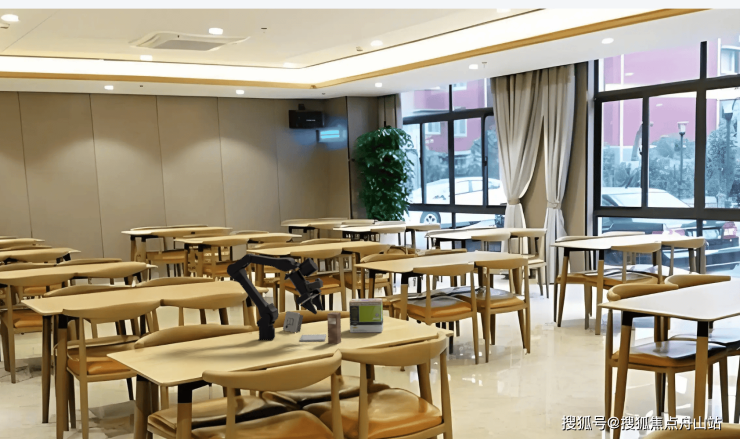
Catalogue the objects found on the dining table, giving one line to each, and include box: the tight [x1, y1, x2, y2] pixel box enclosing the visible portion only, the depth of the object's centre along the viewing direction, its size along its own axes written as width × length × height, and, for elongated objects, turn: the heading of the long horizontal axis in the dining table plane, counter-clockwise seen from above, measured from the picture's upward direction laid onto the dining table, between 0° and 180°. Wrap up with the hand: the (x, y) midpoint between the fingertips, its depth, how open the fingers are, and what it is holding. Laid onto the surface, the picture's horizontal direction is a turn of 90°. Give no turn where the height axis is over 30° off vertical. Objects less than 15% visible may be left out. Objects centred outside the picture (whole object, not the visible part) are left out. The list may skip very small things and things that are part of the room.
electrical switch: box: [282, 310, 304, 333], centre depth 340 cm, size 9×5×9 cm, turn 46°
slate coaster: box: [299, 333, 327, 343], centre depth 321 cm, size 11×11×1 cm
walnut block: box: [326, 311, 342, 345], centre depth 312 cm, size 4×5×13 cm
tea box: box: [348, 297, 384, 333], centre depth 337 cm, size 15×10×15 cm
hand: (319, 312), depth 315 cm, fingers open, 9 cm apart
